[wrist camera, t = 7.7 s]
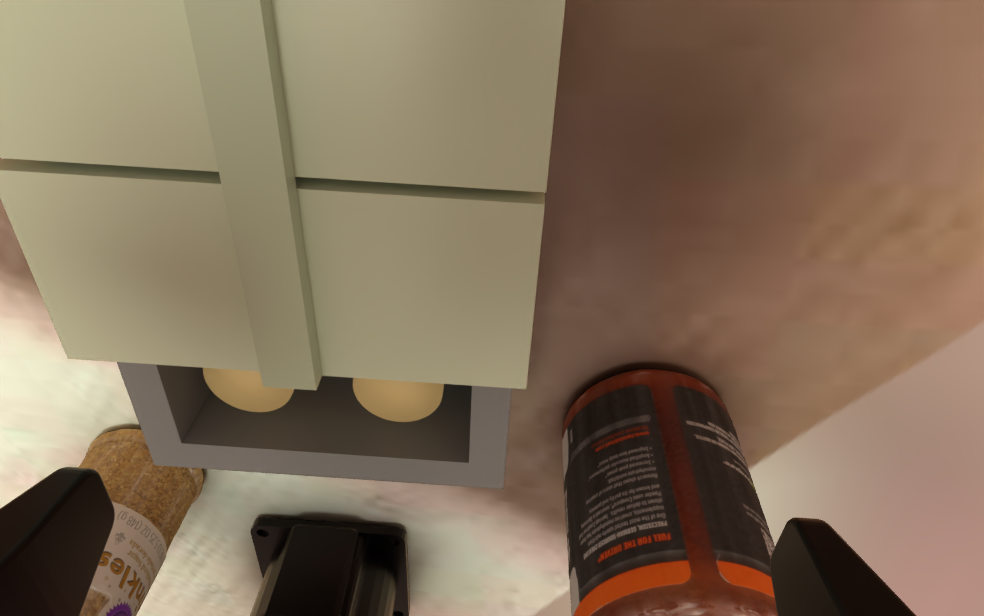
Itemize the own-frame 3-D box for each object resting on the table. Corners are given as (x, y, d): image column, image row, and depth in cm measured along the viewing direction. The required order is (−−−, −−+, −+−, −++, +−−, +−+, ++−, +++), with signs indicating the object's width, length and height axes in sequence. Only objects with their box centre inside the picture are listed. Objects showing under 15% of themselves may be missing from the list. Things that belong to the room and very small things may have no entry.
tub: (508, 373, 23) (503, 489, 19) (220, 353, 23) (154, 465, 19) (545, -100, 15) (550, -72, 11) (101, -126, 15) (-55, -107, 11)
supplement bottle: (531, 445, 25) (530, 799, 16) (616, 335, 22) (676, 698, 13) (665, 496, 27) (734, 850, 18) (764, 399, 23) (913, 771, 14)
